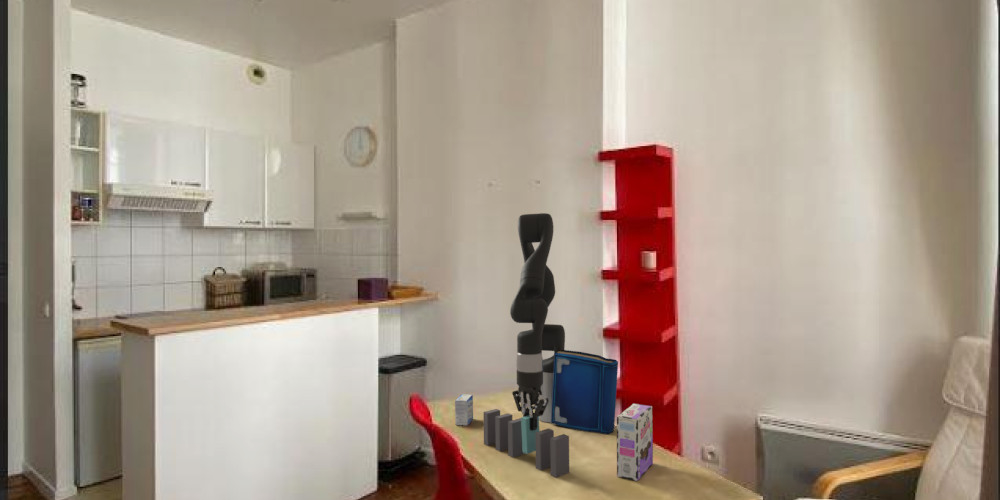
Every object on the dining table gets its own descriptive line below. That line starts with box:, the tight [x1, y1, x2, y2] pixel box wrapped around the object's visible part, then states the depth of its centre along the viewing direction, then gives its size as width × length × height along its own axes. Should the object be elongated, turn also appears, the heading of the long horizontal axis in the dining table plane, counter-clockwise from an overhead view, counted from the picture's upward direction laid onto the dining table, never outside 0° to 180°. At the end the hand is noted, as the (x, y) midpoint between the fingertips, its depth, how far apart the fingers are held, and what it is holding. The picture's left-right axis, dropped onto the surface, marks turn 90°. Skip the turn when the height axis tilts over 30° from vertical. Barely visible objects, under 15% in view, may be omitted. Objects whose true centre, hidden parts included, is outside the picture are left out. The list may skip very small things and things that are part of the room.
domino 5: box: [535, 427, 555, 471], centre depth 156 cm, size 5×2×10 cm, turn 128°
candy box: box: [616, 403, 654, 482], centre depth 153 cm, size 14×6×16 cm, turn 148°
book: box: [551, 349, 619, 435], centre depth 188 cm, size 22×7×25 cm, turn 61°
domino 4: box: [520, 415, 540, 455], centre depth 160 cm, size 5×2×10 cm, turn 128°
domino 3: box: [507, 417, 526, 458], centre depth 165 cm, size 5×2×10 cm, turn 128°
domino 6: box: [550, 433, 570, 479], centre depth 151 cm, size 5×2×10 cm, turn 128°
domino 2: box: [495, 412, 513, 452], centre depth 170 cm, size 5×2×10 cm, turn 128°
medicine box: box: [454, 394, 474, 426], centre depth 195 cm, size 8×4×9 cm, turn 168°
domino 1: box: [483, 408, 501, 447], centre depth 174 cm, size 5×2×10 cm, turn 128°
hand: (530, 428), depth 160 cm, fingers closed on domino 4, 2 cm apart
